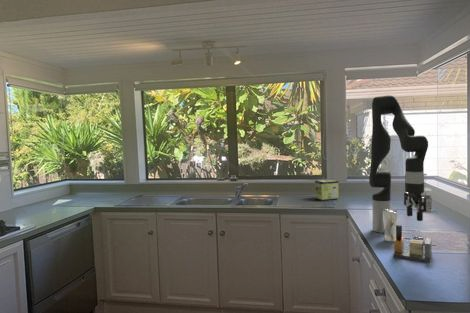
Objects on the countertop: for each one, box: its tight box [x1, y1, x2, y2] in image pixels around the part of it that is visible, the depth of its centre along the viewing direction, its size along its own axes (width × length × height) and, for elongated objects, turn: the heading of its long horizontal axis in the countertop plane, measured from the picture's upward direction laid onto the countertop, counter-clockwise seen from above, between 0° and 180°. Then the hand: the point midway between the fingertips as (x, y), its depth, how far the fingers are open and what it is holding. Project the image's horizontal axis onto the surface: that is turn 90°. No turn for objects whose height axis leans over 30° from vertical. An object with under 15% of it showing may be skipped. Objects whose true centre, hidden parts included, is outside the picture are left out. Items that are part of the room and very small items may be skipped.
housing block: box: [409, 238, 424, 255], centre depth 159 cm, size 5×5×5 cm
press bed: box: [392, 236, 432, 263], centre depth 159 cm, size 12×14×8 cm
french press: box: [421, 173, 434, 213], centre depth 246 cm, size 10×12×25 cm
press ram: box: [393, 224, 405, 253], centre depth 162 cm, size 7×3×11 cm, turn 148°
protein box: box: [314, 179, 339, 202], centre depth 295 cm, size 10×16×16 cm
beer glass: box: [383, 208, 399, 243], centre depth 182 cm, size 7×7×15 cm
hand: (414, 218), depth 159 cm, fingers open, 8 cm apart
